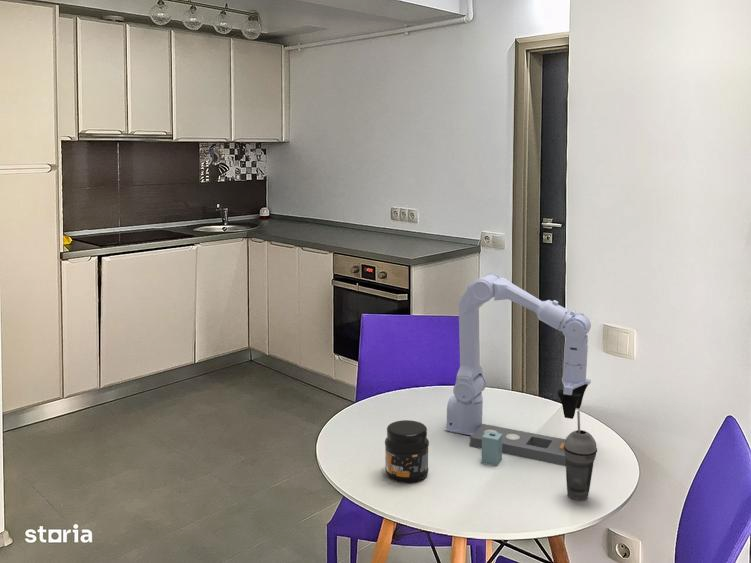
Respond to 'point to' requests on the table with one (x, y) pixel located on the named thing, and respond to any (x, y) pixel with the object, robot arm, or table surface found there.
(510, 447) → the control panel
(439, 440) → the table surface
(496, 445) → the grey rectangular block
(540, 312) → the robot arm
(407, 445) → the supplement container
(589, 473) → the beverage cup
